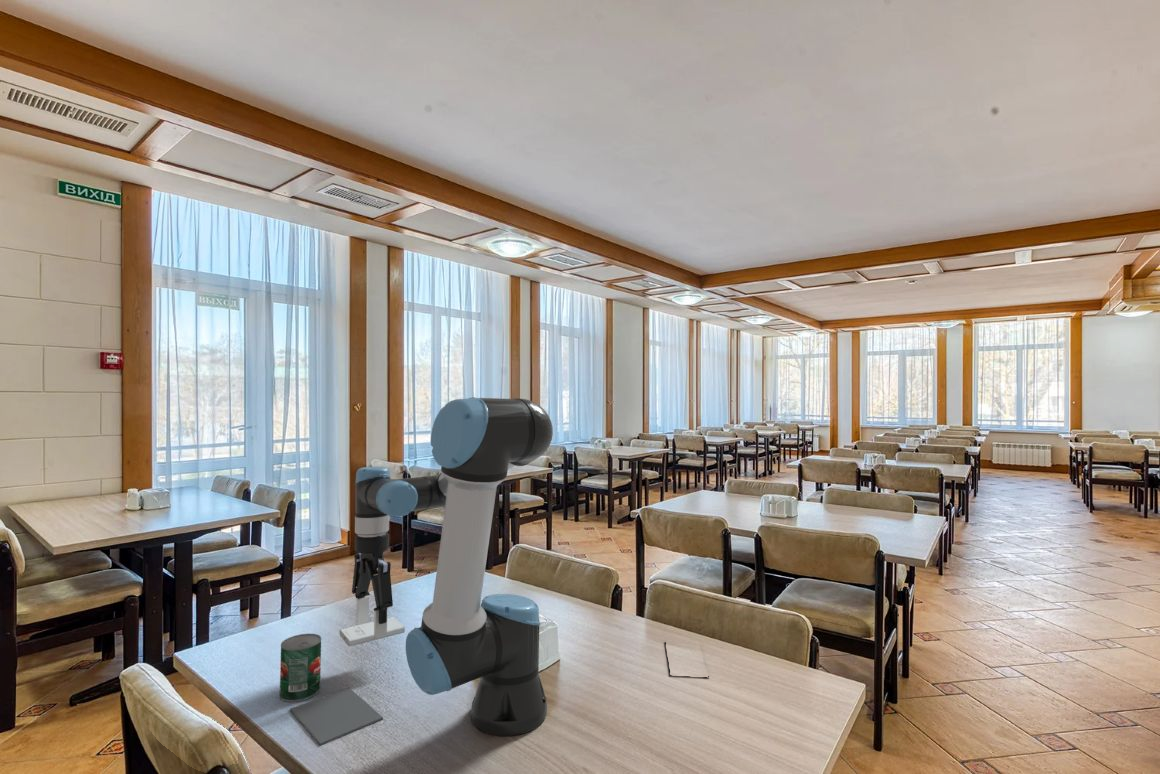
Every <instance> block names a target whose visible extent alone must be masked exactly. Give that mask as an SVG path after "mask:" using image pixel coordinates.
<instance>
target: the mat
mask: <svg viewBox="0 0 1160 774" xmlns="http://www.w3.org/2000/svg"><path fill="white" fill-rule="evenodd" d="M289 712H291V714H292V715H293V716H294V717H295V718H296V719H297V720H298V722H299V723H300V724H301V725H302V726H303V727H304V728H305V729H306V731H307V732H308V733H309V734H310V736H311V737H313V739H314V740H315V741H316V742H317V744H318V745H319V746H322V745H325V744H327V743H330V742H332V741H335V740H337V739H340V738H342V737H344V736H346V735H349V734H352V733H354V732H356V731H358V730H362V729H363V728H366V727H368V726H371V725H373V724H375V723H377V722H380V721H383V719H384V716H382V715H381V714H380V713H379V712H377V711H376V710H375V709H374V708H373V707H372V706H371V705H369V703H367V701H365V700H364V699H363V698H362V697H361V696H360V695H358V694H357V693H356V692H355V691H354V690H353V689H351V688H350V687H346V688H344V689H341V690H338V691H335V692H332V693H330V694H327V695H324V696H321V697H319V698H315V699H313V700H310V701H307V702H304V703H302V704H298V705H296V706H294V707H291V708H289Z"/></svg>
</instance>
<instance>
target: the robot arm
mask: <svg viewBox="0 0 1160 774" xmlns="http://www.w3.org/2000/svg"><path fill="white" fill-rule="evenodd" d="M553 435H554V431H553V423H552V420H551V418H550V415H549V413H548V412H547V411H546V410H545V408H544V407H542V406H540V404H538V403H537V402H534V401H532V400H530V399H525V398H499V397H498V398H491V397H488V398H487V397H486V398H485V397H474V396H472V397H468V398H456V399H453V400H450V401H448V402H447V403H445V405H444V406H443V407H442V408H441V409H440V410H439V411H438V413H437V415H436V416H435V419H434V421H433V424H432V427H431V433H430V446H431V447H432V450H431V453H432V457H433V458H434V461H435V462H436V463H437V464H438V465H439V466H440V473H438V474H435V475H428V476H427V475H426V476H415V477H406V478H393V479H392V478H391V474H390V469H389V467H387V466H364V467H361V468H359V469H357V471H356V473H355V483H354V486H355V503H354V504H355V509H354V510H355V516H354V533H355V534H356V535H355V537H354V550H355V552H356V553H354V556H353V557H354V565H353V566H354V567H353V575H352V576H353V578H352V586H351V593H352V594H353V595H354V597H355V599H356V613H355V615H356V616H355V617H356V618H355V619H356V621H355V626H357V625H361V624H365V623H369V622H370V615H369V614H370V597H369V596H370V595H371V593H370V592H369V588H370V585H371V586H372V589H373V595H374V601H375V606H376V607H374V608H373V611H374V613H373V614H374V615H373V616H374V619H373V622H374V639H377V640H379V639H378V638H381V637H385V636H387V618H388V608H391V607H393V606H394V601H393V590H392V580H391V577H392V576H391V566H392V565H391V562H390V561H385V559H384V552H386V551H387V550H388V549H390V548H389V547H390V534H389V531H390V520H391V517H405V516H407V515H408V514H411V513H412V512H417V511H425V510H428V509H436V508H444V512H443V520H442V527H441V533H440V534H441V536H440V543H439V550H438V557H437V558H438V559H437V567H436V572H435V573H436V576H435V583H434V590H433V598H432V602H431V603H429V604H428V605H427V606H426V607H425V608H424V610H423V612H422V617H421V626H420V627H414V629H411V630H410V631H409V632H408V633H407V635H406V638H405V655H406V661H407V664H408V667H409V670H410V674H411V676H412V678H413V680H414V682H415V684H416V685H417V686H418V688H419V689H420V690H421V691H422V693H424V694H427V695H429V696H430V695H431V696H434V695H438V694H441V693H444V692H450V691H452V690H453V689H454V688H457V687H460V686H462V685H465V684H467V683H470V682H472V681H475V680H477V679H479V682H478V685H477V689H476V691H475V696H474V697H473V700H472V702H471V705H470V706H471V709H470V710H471V711H470V712H471V713H470V715H471V717H470V718H471V722H472V724H473V725H474V727H475V728H477V729H478V730H479V731H482V732H483V733H484V734H485V733H486V734H488V735H493V736H499V735H500V736H499V737H501V735H502V737H509V736H510V737H511V736H518V735H522V734H526V733H528V731H529V732H531V731H533V730H535V729H536V728H538V727H539V726H541V725H542V724H543V723H544V721H545V720H546V718H545V717H547V715H546V714H548V713H547V712H548V711H547V710H548V702H547V698H546V694H545V691H544V687H543V685H542V680H541V677H540V674H539V669H540V668H539V666H540V663H539V661H540V659H539V657H540V654H539V653H540V652H539V651H540V649H539V648H540V626H541V622H540V612H539V611H540V610H539V606H538V604H537V602H536V601H534V600H533V599H532V598H529V597H526V596H523V595H517V594H511V593H495V594H490V595H487V596H485V597H484V598H483V599H482V595H483V587H484V580H485V579H484V578H485V574H486V573H485V571H486V567H487V566H486V565H487V558H488V554H489V553H488V551H489V545H490V537H491V532H492V531H491V529H492V522H493V517H494V516H493V515H494V509H495V503H496V502H495V501H496V494H497V487H498V485H500V484H501V483H502V482H504V481H506V479H507V477H508V471H509V470H510V469H512V468H514V467H524V466H526V465H529V464H531V463H532V462H534V461H535V460H537V459H539V458H540V457H542V456H543V455H544V454H545V453H546V452H547V450H548V449H549V447H550V445H551V443H552V441H553ZM385 638H386V637H385ZM381 639H382V638H381ZM544 719H545V720H544ZM506 735H507V736H506Z"/></svg>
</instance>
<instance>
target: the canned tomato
mask: <svg viewBox="0 0 1160 774" xmlns="http://www.w3.org/2000/svg"><path fill="white" fill-rule="evenodd" d="M321 661H322V636H321V635H319V634H316V633H301V634H297V635H291V636H290V637H288V638H286V639H284V640H283V641H282V642H281V643H280V669H279V671H280V675H279V680H280V681H279V699H280V700H281V701H283V702H287V703H294V702H295V703H297V702H301V701H305V700H308V699H311V698H313V697H314V696H316V695H317V694H319V692H320V691H321V666H322V664H321V663H322V662H321Z"/></svg>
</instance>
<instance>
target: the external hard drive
mask: <svg viewBox="0 0 1160 774" xmlns="http://www.w3.org/2000/svg"><path fill="white" fill-rule="evenodd" d="M405 629H406V627H405V625H404V624H402V623H401V622H400V621H399V620H397V618H396V617H394V616H390V617H387V636H385V637H381V638H378V639H374V621H369V623H365V624H361V625H357V626H356V625H354V626H353V625H352V626H349V627H344V628H341V629H339V636H340V638H341V639H342V640H343V641H344V642H345V644H346V645H347V646H348V647H352V646H356V645H360V644H361V645H362V644H365V643H369V642H372V641H373V642H374V641H377V640H380V639H385V638H388V637H392V636H396V635H401V634H403V633H405V631H406V630H405Z"/></svg>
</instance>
